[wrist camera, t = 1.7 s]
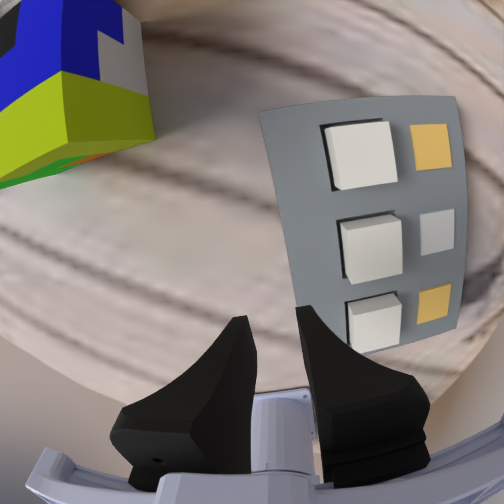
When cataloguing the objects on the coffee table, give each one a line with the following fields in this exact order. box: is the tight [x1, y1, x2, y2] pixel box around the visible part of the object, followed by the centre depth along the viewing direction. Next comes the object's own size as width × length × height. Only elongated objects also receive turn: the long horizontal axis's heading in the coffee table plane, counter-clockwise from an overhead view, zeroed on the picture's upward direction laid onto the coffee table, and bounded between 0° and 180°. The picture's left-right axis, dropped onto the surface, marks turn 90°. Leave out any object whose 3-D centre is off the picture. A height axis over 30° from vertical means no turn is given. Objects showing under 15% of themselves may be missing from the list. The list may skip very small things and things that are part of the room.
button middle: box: [340, 214, 402, 285], centre depth 18 cm, size 4×4×2 cm
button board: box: [258, 96, 467, 355], centre depth 19 cm, size 19×14×2 cm
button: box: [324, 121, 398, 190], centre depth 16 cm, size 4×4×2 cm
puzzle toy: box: [0, 0, 156, 189], centre depth 13 cm, size 10×10×10 cm
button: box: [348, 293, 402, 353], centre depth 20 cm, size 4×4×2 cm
